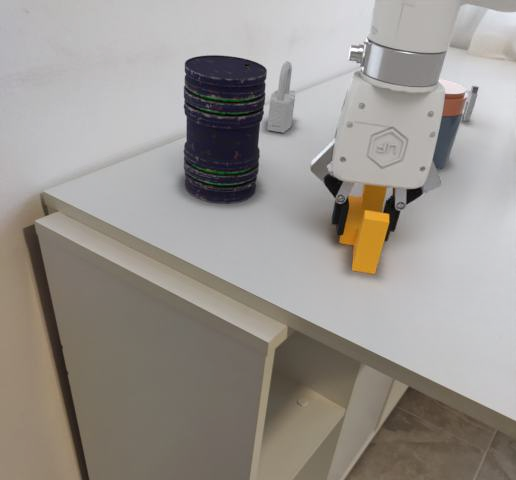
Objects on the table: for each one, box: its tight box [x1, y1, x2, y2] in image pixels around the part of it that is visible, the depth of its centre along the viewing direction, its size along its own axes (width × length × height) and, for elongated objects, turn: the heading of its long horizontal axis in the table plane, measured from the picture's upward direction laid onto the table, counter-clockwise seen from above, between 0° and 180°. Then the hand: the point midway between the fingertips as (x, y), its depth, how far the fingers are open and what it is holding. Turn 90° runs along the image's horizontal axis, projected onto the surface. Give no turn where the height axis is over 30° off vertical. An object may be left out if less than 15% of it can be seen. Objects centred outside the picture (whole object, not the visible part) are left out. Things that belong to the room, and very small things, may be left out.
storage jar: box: [183, 54, 268, 204], centre depth 68 cm, size 10×10×15 cm
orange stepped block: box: [338, 184, 389, 275], centre depth 62 cm, size 12×4×6 cm, turn 170°
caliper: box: [461, 85, 480, 122], centre depth 108 cm, size 20×1×6 cm, turn 171°
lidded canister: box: [433, 78, 468, 170], centre depth 83 cm, size 9×9×11 cm
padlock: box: [266, 61, 296, 134], centre depth 89 cm, size 7×4×10 cm, turn 166°
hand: (361, 231), depth 63 cm, fingers closed on orange stepped block, 4 cm apart
